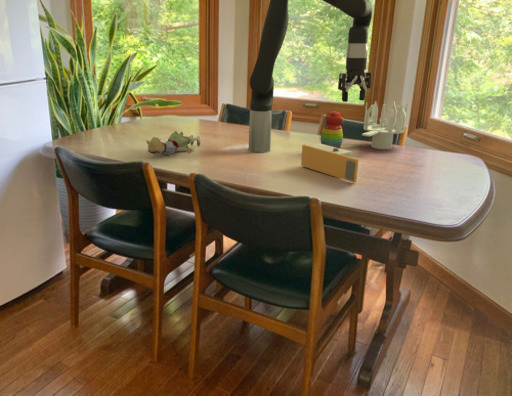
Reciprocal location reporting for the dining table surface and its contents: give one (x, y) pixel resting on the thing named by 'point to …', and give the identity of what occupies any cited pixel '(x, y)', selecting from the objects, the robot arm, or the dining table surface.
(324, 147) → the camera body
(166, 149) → the figurine
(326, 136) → the stacking bear
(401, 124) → the decorative object
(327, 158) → the side door
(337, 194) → the dining table surface
